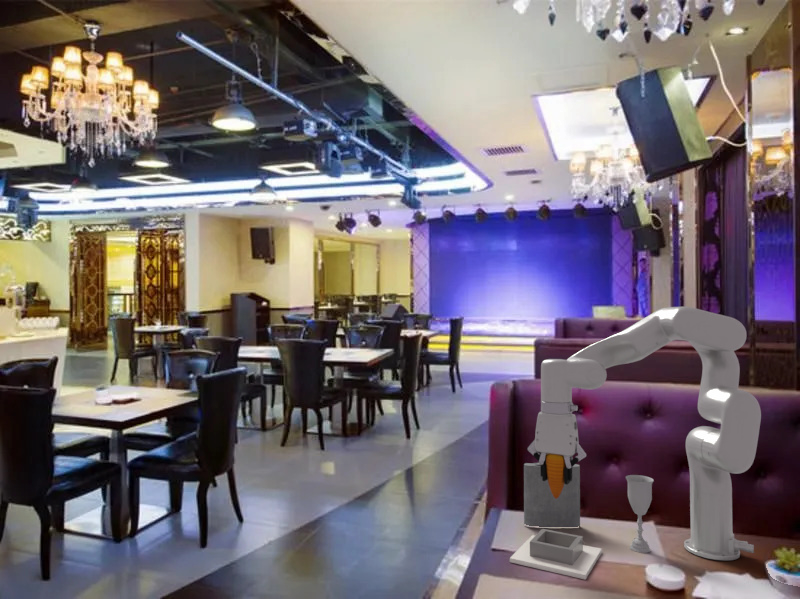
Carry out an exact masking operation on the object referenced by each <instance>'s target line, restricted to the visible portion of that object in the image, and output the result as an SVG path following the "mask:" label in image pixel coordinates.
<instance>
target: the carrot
mask: <svg viewBox="0 0 800 599" xmlns="http://www.w3.org/2000/svg"><path fill="white" fill-rule="evenodd" d="M564 468H566V463H565V459H564V456H562V455H555V454H547V455H546V471H547V478H548V483H549V487H550V490H551V492H552V494H553V496H554V498H555V499H557V498H558V497H559V495H560V494H561V492H562V489H563V487H564Z"/></svg>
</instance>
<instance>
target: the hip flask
mask: <svg viewBox="0 0 800 599" xmlns="http://www.w3.org/2000/svg"><path fill="white" fill-rule="evenodd" d="M580 471H581V466H580V464H578V463H576V464H575V465H574V466H573V467H572V481H570V483H569V484H568V485H566V484H564V487H563V489H562V492H561V494H560V495H559V497H558V498H557V499H555V498H554V496H553V494H552V492H551V490H550V487H549V483H548V479H547V480H546V481H542V477H541V465H540V464H539V462H533V463H530V462H529V463H528V462H525V463H524V464H523V525H524V524H526V525H529V526H539V527H578V526H580V527H581V486H580V485H581V474H580V473H581V472H580Z"/></svg>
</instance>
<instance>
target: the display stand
mask: <svg viewBox="0 0 800 599" xmlns="http://www.w3.org/2000/svg"><path fill="white" fill-rule="evenodd" d="M602 550H603V549H602V548H600V547H595V546H591V545H586V544H585V545H584V536H583V535H577V534H573V533H572V534H571V533H568V532H566V533H565V532H563V531H562V532H561V531H555V530H553V529H540V530H539V531H538V533H537V534H536V535H535V534H531V536H529V538H528V539H527V540H526V541H524V543H523V544H522V545H521V546H520V547H519V548H518V549H517V550H516V551H515V552H514V553H513V554H512V555H511V556H510V557H509V563H510V564H511V563H512V564H516V565H521V566H526V567H529V568H534V569H537V570H542V571H546V572H551V573H554V574H555V573H556V574H559V575H564V576H567V577H568V576H569V577H573V578H577V579H582V580H586V579H587V578H588V577H589V575H590V573H591V572H592V570H593V569H594V566H595V565H596V563H597V561H598V559H599V558H600V556H601V555H602V553H603V551H602Z"/></svg>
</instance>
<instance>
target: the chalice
mask: <svg viewBox="0 0 800 599" xmlns="http://www.w3.org/2000/svg"><path fill="white" fill-rule="evenodd" d="M625 480H626V482H627V498H628V502H629V504H630V507H631V509H632V511H633V512H634V514H635V515H637V521H636V523H637V528H636V531H637V536H636V537H635V538H633V539H632V542H631V543H630V546H629V549H630V550H631V551H634V552H636V553H637V552H638V553H641V554H642V553H650V552H651V548H650V545H649V543H648V541H647V539H645V538H644V537H643V532H644V529H643V527H642V526H643V524H644V522H643V519H642V518H643V516H644V515H646V514H647V513H648V509H649V508H650V505H651V503H652V500H653V495H652V494H653V489H652V487H653V483H654V482H655V481H654V478H652V477H649V476H646V475H641V474H640V475H639V474H630V475H629V474H628V475H626V476H625Z"/></svg>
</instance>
